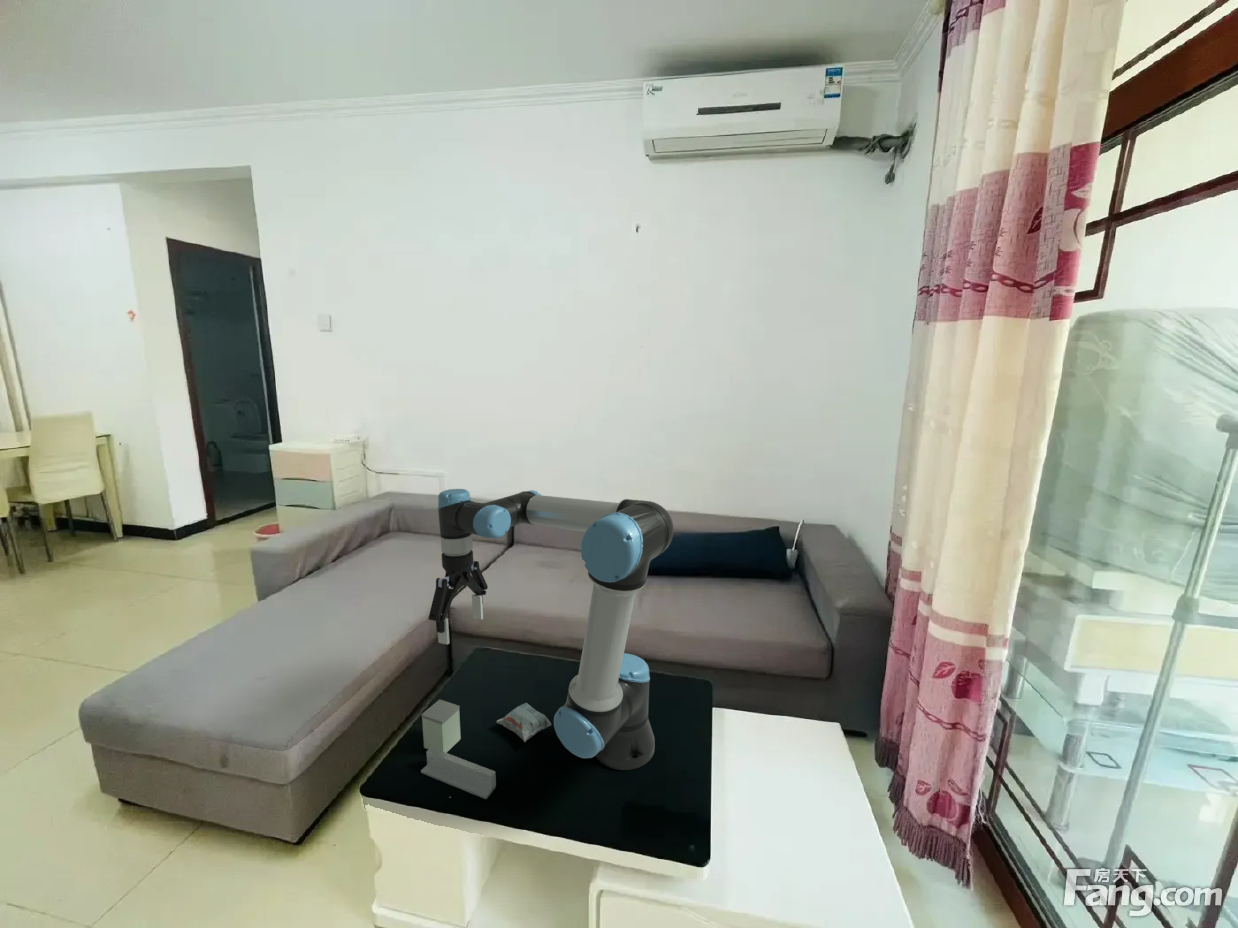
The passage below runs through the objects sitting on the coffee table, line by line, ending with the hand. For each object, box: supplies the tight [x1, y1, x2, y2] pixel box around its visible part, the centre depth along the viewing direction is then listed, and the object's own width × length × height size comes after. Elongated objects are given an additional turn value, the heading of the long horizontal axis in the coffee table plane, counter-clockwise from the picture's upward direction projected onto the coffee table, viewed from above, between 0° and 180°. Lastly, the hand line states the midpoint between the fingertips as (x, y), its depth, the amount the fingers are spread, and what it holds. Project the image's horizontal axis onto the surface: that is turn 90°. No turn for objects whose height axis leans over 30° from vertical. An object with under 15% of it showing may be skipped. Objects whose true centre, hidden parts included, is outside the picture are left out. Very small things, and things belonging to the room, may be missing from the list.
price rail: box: [420, 747, 497, 800], centre depth 114 cm, size 18×4×4 cm, turn 67°
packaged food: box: [496, 702, 552, 743], centre depth 129 cm, size 9×12×5 cm
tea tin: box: [420, 699, 462, 753], centre depth 124 cm, size 6×6×9 cm
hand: (461, 630), depth 131 cm, fingers open, 13 cm apart
